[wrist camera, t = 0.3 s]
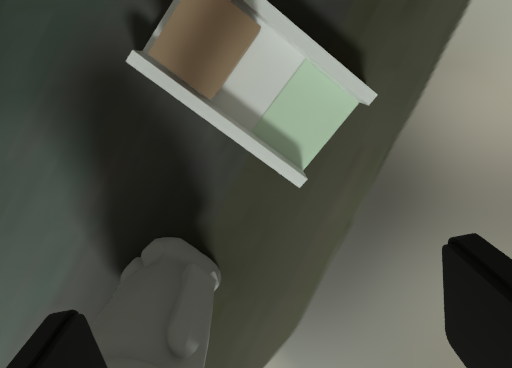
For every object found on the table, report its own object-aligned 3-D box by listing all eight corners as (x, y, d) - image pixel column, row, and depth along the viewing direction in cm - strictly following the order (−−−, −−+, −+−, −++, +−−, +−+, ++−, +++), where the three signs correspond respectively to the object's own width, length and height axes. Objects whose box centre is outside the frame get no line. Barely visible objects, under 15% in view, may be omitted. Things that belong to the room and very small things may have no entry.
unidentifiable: (165, 210, 40) (46, 421, 16) (239, 257, 42) (228, 502, 19) (103, 297, 44) (-67, 573, 20) (174, 336, 46) (95, 627, 22)
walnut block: (165, 55, 33) (147, 53, 28) (206, -11, 32) (197, -27, 26) (216, 94, 35) (210, 100, 29) (259, 33, 33) (261, 26, 27)
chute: (137, 64, 35) (123, 64, 31) (205, -47, 32) (199, -62, 28) (293, 178, 39) (297, 190, 35) (366, 89, 36) (379, 92, 32)
